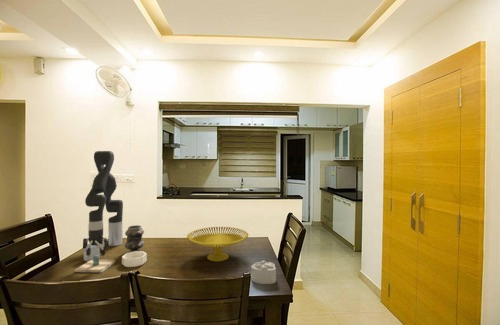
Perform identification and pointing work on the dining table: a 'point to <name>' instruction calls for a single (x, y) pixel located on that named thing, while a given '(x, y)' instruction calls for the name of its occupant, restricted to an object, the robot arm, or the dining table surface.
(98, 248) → the medicine box
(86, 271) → the mat
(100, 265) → the lid
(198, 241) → the cake stand
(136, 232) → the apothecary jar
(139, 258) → the bowl
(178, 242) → the dining table surface
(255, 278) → the lumpy-topped squat cylinder
